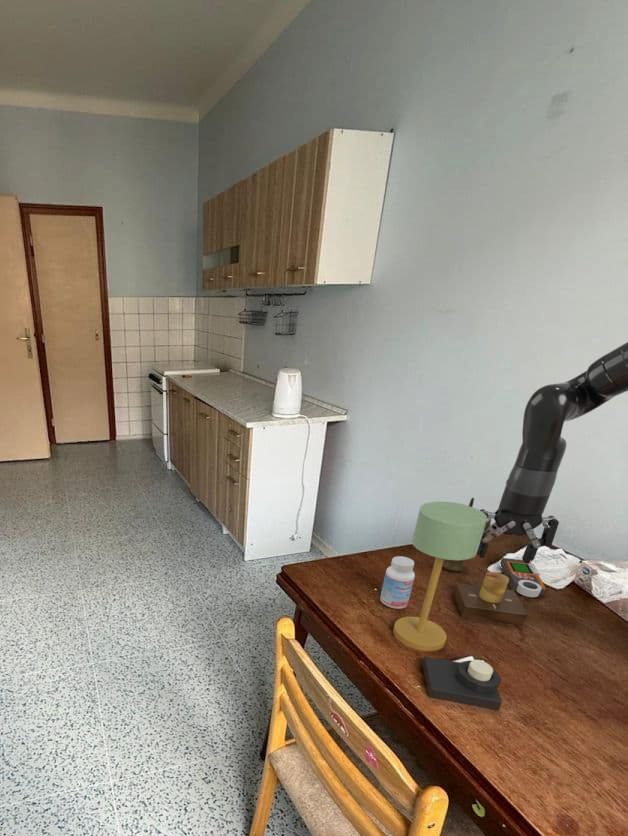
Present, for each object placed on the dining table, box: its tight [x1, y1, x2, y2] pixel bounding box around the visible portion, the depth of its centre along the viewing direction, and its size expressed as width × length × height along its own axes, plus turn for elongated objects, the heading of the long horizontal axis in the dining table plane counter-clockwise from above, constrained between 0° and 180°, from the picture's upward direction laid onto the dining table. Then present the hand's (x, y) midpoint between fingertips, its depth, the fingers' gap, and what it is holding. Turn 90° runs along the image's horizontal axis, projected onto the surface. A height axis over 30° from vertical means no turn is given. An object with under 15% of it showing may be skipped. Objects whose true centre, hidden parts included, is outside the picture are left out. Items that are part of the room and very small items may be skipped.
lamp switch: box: [467, 659, 494, 681], centre depth 84 cm, size 4×4×2 cm
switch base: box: [421, 656, 503, 711], centre depth 86 cm, size 11×9×4 cm
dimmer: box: [452, 582, 528, 627], centre depth 107 cm, size 12×10×3 cm
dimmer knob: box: [479, 571, 509, 603], centre depth 105 cm, size 4×4×6 cm
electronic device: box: [499, 557, 547, 598], centre depth 117 cm, size 7×3×15 cm
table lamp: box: [392, 501, 487, 652], centre depth 93 cm, size 11×11×28 cm
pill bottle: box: [379, 555, 416, 610], centre depth 108 cm, size 6×6×11 cm
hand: (502, 558), depth 102 cm, fingers open, 8 cm apart
